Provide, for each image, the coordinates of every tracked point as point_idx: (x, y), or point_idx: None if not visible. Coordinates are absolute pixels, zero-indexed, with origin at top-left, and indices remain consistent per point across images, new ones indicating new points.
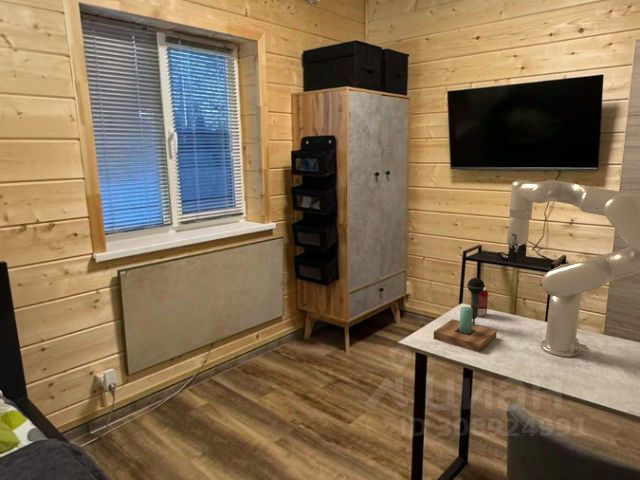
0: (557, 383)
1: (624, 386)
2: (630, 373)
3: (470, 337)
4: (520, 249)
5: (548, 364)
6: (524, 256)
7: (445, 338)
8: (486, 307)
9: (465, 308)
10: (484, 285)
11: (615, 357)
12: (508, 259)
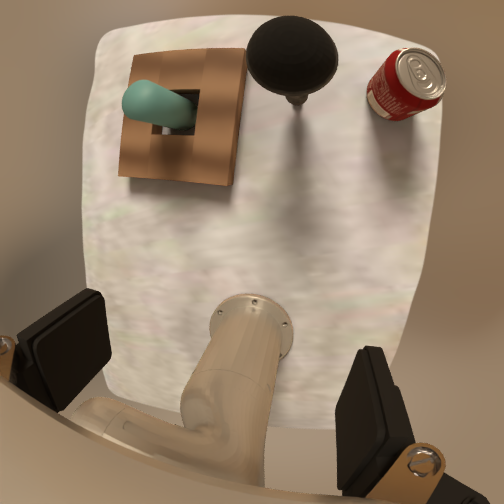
0: (110, 324)
1: (167, 402)
2: None
3: (143, 140)
4: (357, 435)
5: (162, 312)
6: (337, 410)
7: None
8: (396, 116)
9: (141, 94)
10: (305, 90)
11: (271, 408)
12: (80, 299)
